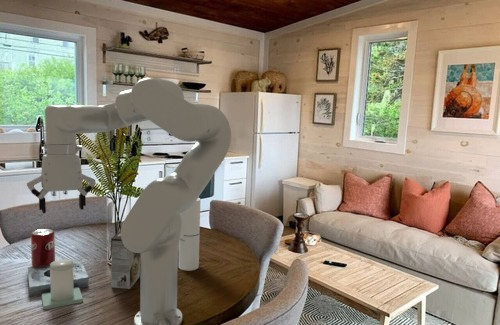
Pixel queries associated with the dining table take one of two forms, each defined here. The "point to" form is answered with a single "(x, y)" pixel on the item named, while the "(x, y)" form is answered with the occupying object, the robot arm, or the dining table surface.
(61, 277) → the white rounded cylinder
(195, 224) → the cylindrical container
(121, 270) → the coffee box
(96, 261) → the dining table surface
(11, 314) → the dining table surface
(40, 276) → the housing
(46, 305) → the mat
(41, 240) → the soda can
